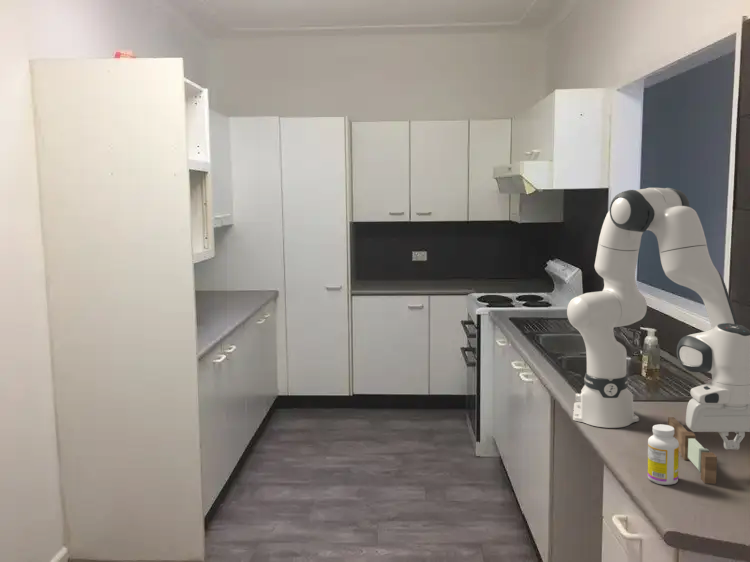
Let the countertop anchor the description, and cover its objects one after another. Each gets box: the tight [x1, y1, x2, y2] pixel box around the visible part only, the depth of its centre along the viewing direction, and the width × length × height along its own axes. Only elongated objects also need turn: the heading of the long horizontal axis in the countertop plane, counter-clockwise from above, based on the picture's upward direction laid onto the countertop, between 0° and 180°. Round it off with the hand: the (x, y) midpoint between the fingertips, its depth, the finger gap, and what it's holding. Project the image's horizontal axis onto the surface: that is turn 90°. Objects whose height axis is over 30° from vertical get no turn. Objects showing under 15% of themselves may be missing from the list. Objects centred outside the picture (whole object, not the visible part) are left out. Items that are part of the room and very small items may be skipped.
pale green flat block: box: [688, 438, 710, 474], centre depth 161 cm, size 9×2×6 cm, turn 173°
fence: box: [667, 416, 718, 485], centre depth 167 cm, size 28×2×6 cm, turn 173°
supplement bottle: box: [647, 423, 680, 486], centre depth 156 cm, size 7×7×13 cm
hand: (731, 448), depth 159 cm, fingers closed
